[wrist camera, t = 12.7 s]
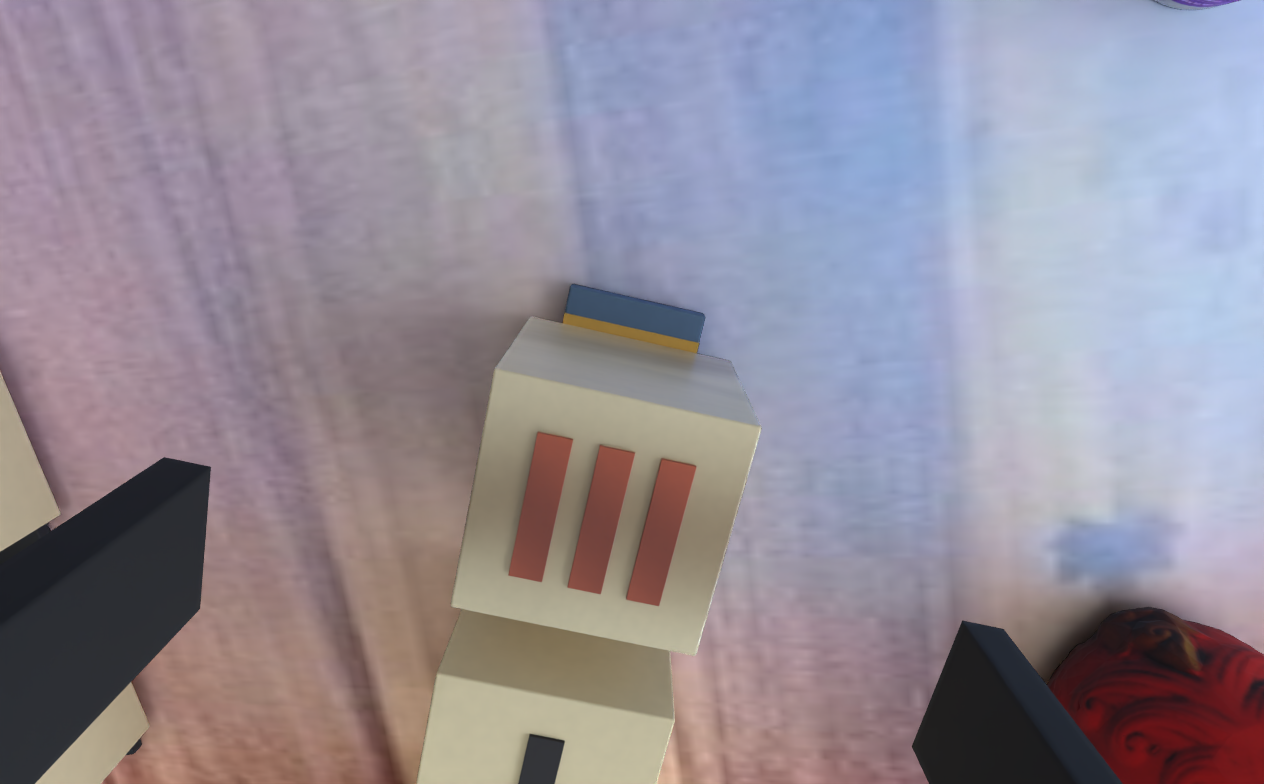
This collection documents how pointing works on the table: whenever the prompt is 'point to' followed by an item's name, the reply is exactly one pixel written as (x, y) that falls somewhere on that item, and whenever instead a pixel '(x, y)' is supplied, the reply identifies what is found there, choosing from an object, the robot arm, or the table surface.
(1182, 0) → the container
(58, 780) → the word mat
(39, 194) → the table surface
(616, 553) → the red striped cream cube
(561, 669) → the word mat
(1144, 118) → the table surface
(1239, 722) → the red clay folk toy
